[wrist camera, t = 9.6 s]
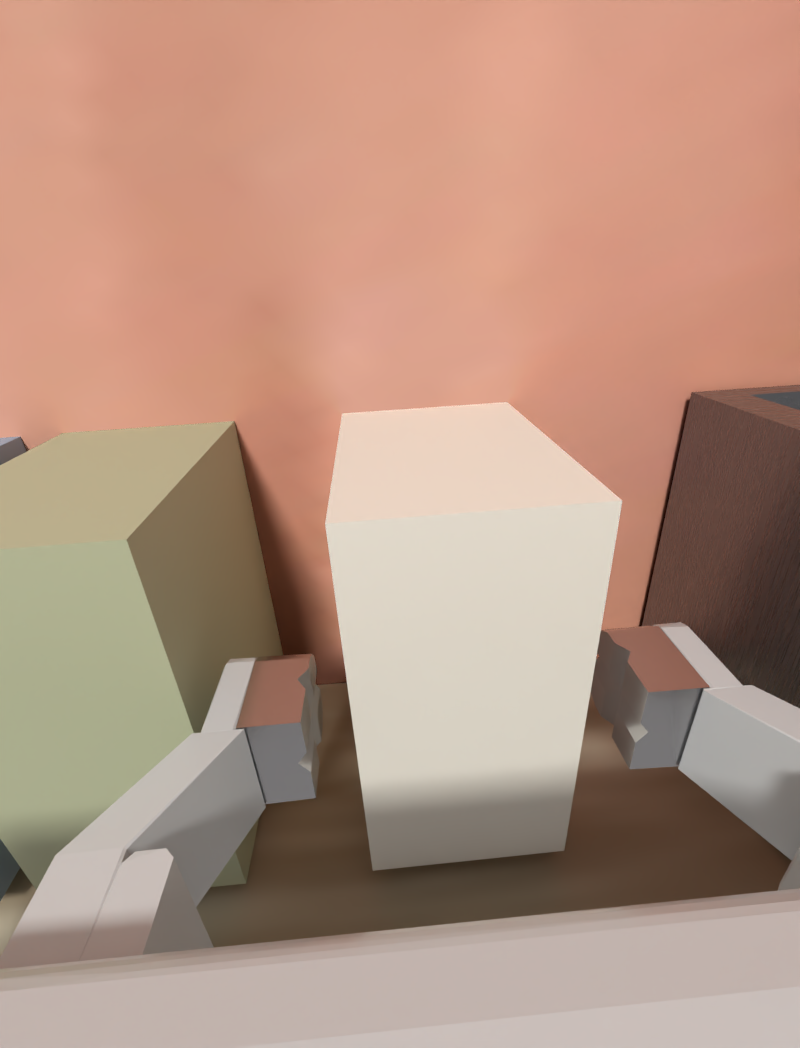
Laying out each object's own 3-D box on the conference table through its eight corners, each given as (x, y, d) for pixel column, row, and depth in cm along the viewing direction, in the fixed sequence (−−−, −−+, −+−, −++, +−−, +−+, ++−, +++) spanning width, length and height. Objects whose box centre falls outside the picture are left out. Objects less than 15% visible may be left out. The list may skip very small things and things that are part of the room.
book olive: (65, 431, 12) (-192, 563, 6) (235, 420, 12) (126, 539, 6) (158, 683, 15) (45, 903, 10) (287, 672, 15) (246, 883, 10)
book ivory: (342, 412, 12) (324, 523, 6) (506, 401, 12) (622, 500, 7) (369, 665, 15) (372, 870, 10) (494, 654, 16) (564, 850, 10)
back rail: (-204, 452, 11) (-912, 669, 5) (844, 379, 12) (1353, 487, 6) (-22, 738, 16) (-281, 1047, 9) (743, 669, 16) (976, 910, 10)
